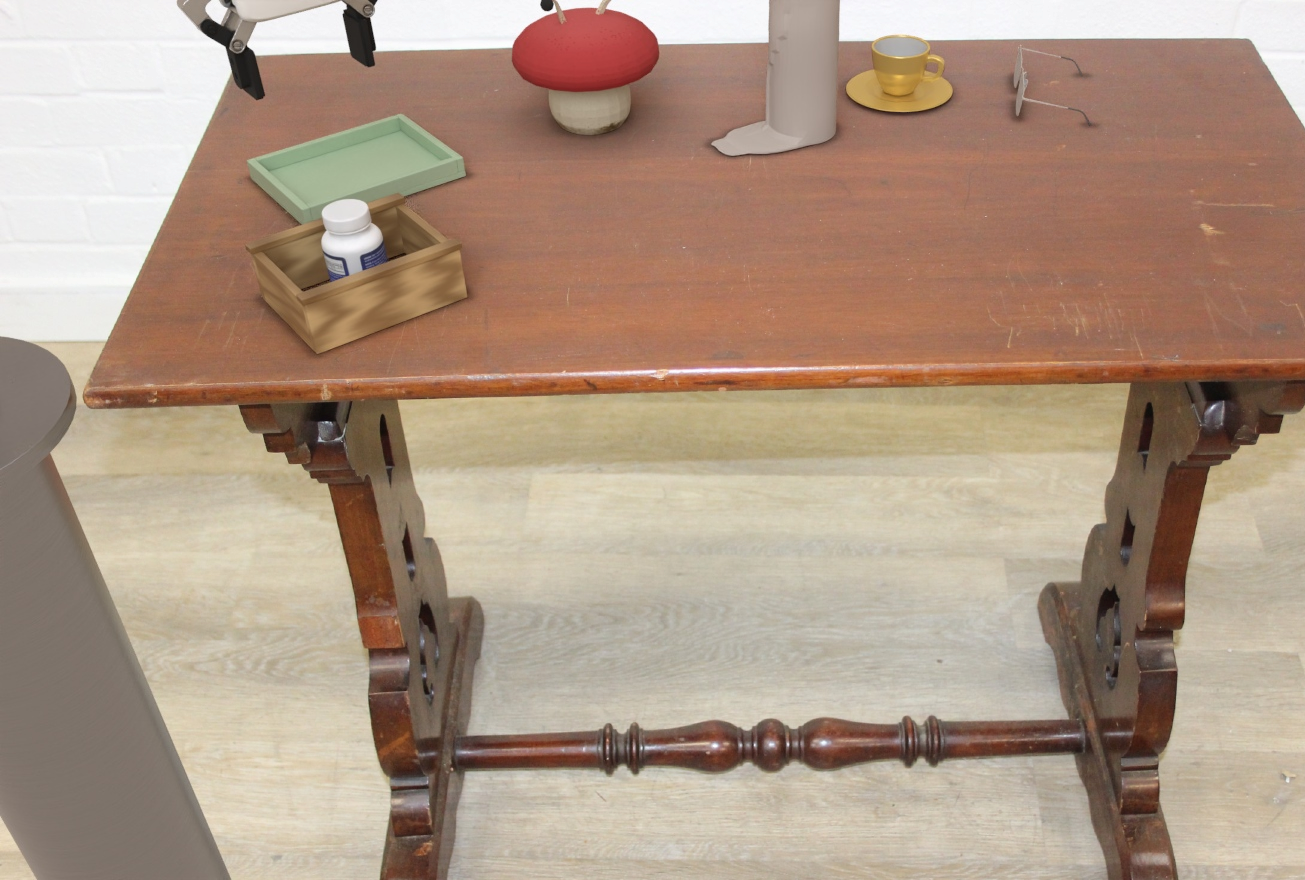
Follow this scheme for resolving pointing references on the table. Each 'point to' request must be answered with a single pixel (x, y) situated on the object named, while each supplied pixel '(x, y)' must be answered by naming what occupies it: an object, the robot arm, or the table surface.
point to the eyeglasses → (1024, 82)
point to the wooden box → (358, 277)
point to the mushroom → (586, 63)
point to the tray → (355, 167)
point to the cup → (901, 77)
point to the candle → (795, 80)
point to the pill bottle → (350, 239)
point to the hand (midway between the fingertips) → (309, 77)
